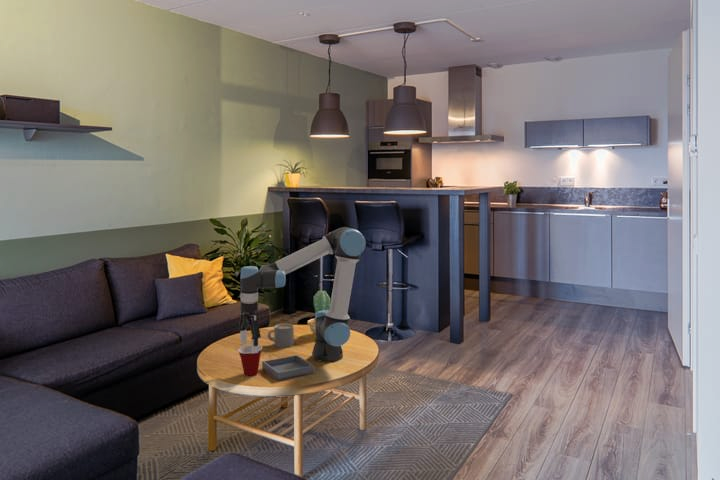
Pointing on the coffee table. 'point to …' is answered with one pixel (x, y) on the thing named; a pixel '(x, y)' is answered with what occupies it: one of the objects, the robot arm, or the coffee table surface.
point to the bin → (287, 367)
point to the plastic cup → (250, 360)
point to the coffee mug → (282, 335)
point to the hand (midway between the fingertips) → (249, 348)
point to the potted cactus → (319, 307)
